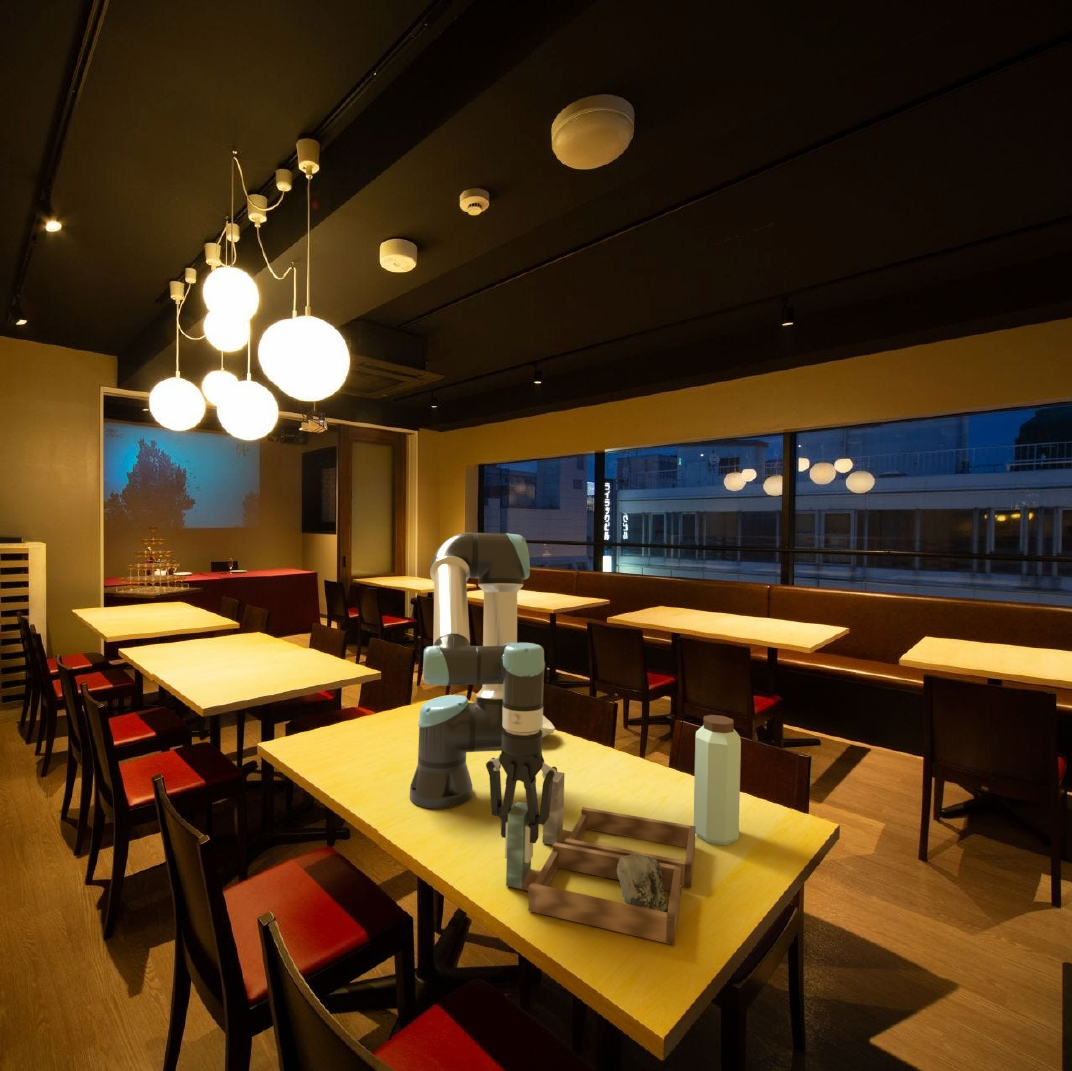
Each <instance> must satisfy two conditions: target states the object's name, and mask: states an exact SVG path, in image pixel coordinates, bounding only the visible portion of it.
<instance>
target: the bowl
mask: <svg viewBox="0 0 1072 1071" xmlns="http://www.w3.org/2000/svg"><path fill="white" fill-rule="evenodd" d="M541 731H542V739H543V738H544V737H546V736H548V735H550V734H553V733H554V732H555V731H556V728H555V726H554V724H553V723H552V722H551V721H550V720H549V719H548V718H547V717H546V716H545V715H543V727H542V728H541Z"/></svg>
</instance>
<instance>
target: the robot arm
mask: <svg viewBox="0 0 1072 1071" xmlns="http://www.w3.org/2000/svg"><path fill="white" fill-rule="evenodd" d="M530 562H531V561H530V553H529V549H528V544H527V541H526V539H525V537H523V536H522V535H521V534H515V533H508V532H505V533H504V532H503V533H502V532H501V533H500V532H499V533H497V532H471V531H470V532H468V531H467V532H461V533H458V534H455V535H453V536H451V537H450V538H448V539H446V540H445V541H444V542H443V543H442V544H440V546H438V548H437V549H436V551H435V553H434V554H433V556H432V558H431V561H430V567H429V568H430V569H429V574H430V579H431V580H432V582H433V584H434V585H433V586H434V587H433V638H432V639H433V645H432V646H431V645H430V646H426V647H425V648H424V649H423V664H422V665H423V667H422V669H423V670H422V672H423V673H422V681H423V682H424V683H425V685H429V686H440V687H441V686H444V687H447V686H463V685H464V686H466V685H468V686H469V685H470V686H471V685H472V686H473V685H479V686H480V685H482V687H481V689H480V690H479V691H478V692H477V693H476V695H475V696H476V698H475V702H469V699H468V698H467V697H466V696H465V695H461V694H460V695H457V694H449V695H443V696H438V697H435V698H431V699H430V700H428V701H426V702H424V703H423V704H422V705H421V707H420V709H419V719H418V723H417V725H418V727H419V728H418V749H417V750H418V751H417V756H418V757H417V766H416V769H415V771H414V774H413V777H412V780H411V783H410V787H409V799H410V801H411V802H412V803H413V804H415V805H416V806H419V807H422V808H426V809H434V810H435V809H437V810H438V809H439V810H440V809H443V810H444V809H449V808H455V807H459V806H461V805H464V804H465V803H467V802H468V801H469V800H470V799H471V798H472V797H473V781H472V779H471V775H470V771H469V767H468V764H467V753H479V752H497V751H498V752H500V754H499V756H498V757H492V758H491V759H489V760H488V761H487V762H486V763H485V767H486V769H487V773H488V776H489V791H490V811H491V815H492V816H493V817H498V819H500V823H501V825H500V836H501V838H504V839H505V844H504V845H505V848H504V850H505V852H504V859H505V860H507V831H508V813H509V812H510V810H511V809H512V808H513V804H514V797H515V794H516V793H515V792H516V787H517V782H518V781H520V782H522V783H523V788H524V790H525V798H526V804H527V807H528V816H529V822H528V823H527V825H526V826H525V863H529V861H530V860H531V861H532V858H533V857H534V844H536V843H537V841H538V839H539V831H540V830H539V827H540V825H541V826H543V825H544V824H545V823H546V821H547V819H548V818H549V813H550V803H551V794H552V785H553V778H554V777H555V775H556V773H557V772H558V768H557V767H556V766H550V765H548V764H546V763H545V759H544V757H543V738H542V731H541V728H542V727H543V716H544V683H545V682H544V681H545V680H544V678H545V668H546V661H545V650H544V648H543V646H541V645H540V644H536V643H533V642H531V643H530V642H518V593H519V591H520V590H521V589H522V587H523V586H524V580H527V579H529V577H530V574H531V564H530ZM469 579H478V580H477V586H478V587H479V588H480V589H481V590H482V591H483V625H482V626H483V627H482V628H483V629H482V630H483V632H482V633H483V634H482V636H483V637H482V640H483V641H482V645H471V638H470V637H471V636H470V626H469V625H470V622H469V620H470V619H469V604H468V587H467V586H468V585H467V582H468V580H469ZM501 767H502V769H503V770H504V772H505V774H506V779H505V790H504V796H503V797H502V780H501ZM540 771H541V773H542V774H541V775H542V779H543V782H542V790H541V798H540V799H541V801H540V806H539V800H538V794H537V793H538V792H537V785H536V783H537V777H536V776H537V775H538V774H539V772H540ZM502 798H503V799H502ZM539 808H540V809H539Z"/></svg>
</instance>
